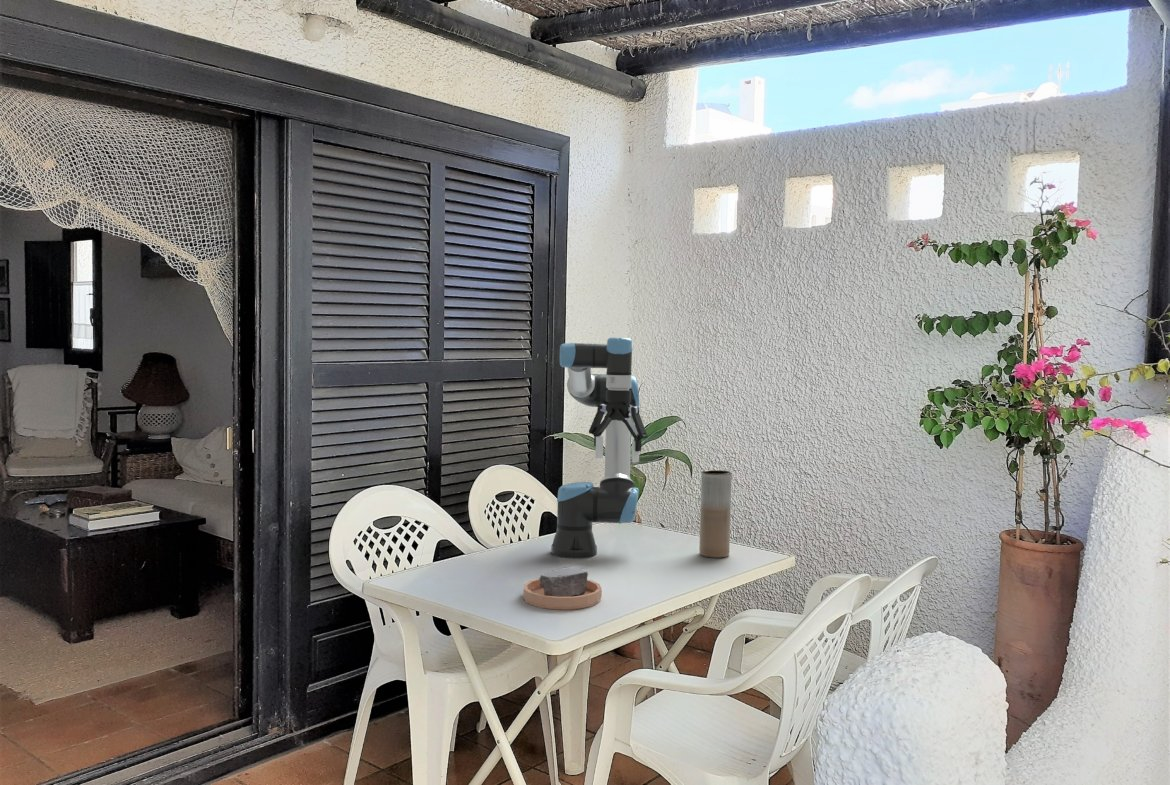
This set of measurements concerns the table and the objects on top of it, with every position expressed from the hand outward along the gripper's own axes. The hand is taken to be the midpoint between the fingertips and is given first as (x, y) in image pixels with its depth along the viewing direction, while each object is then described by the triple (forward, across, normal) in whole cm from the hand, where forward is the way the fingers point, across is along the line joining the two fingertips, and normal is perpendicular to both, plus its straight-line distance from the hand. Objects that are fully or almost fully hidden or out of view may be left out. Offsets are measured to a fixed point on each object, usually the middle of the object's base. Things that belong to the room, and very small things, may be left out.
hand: (616, 460), depth 266 cm
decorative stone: (+34, +6, -29) cm, 45 cm away
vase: (+35, +9, +43) cm, 56 cm away
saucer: (+35, +5, -30) cm, 46 cm away
